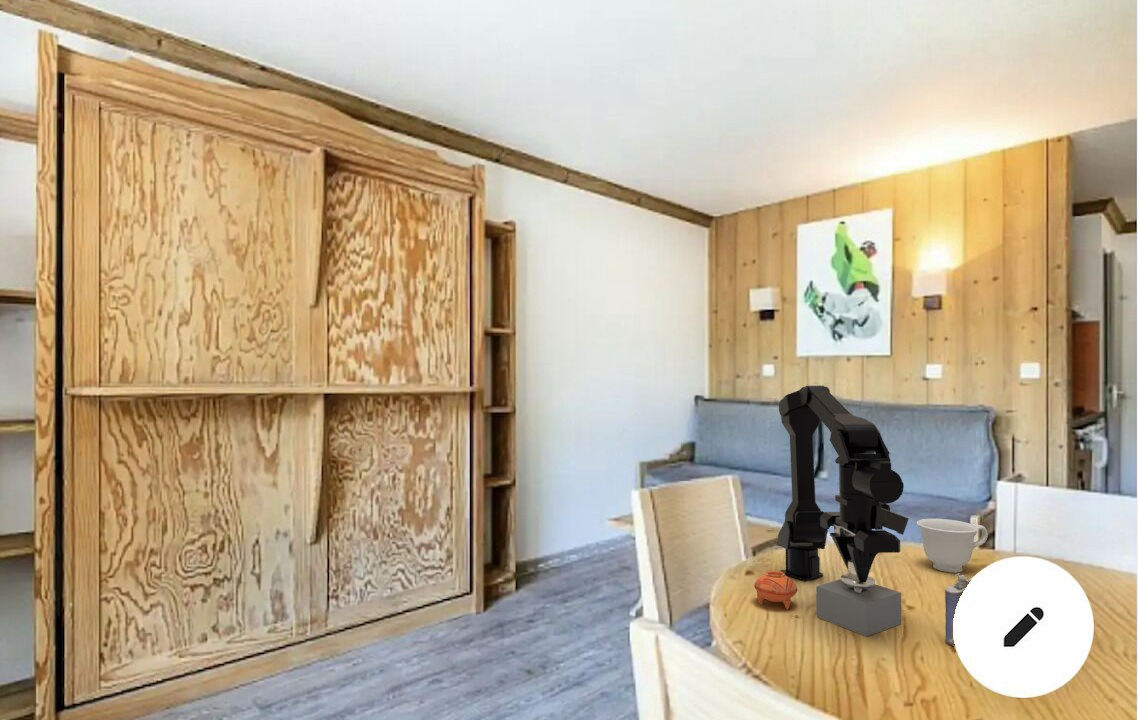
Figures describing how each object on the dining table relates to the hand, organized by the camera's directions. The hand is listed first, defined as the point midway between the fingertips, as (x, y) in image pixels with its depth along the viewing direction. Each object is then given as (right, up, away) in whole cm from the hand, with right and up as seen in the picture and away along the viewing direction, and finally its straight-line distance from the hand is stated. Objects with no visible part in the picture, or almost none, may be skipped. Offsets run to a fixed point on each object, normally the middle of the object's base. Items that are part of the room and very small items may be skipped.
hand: (857, 578), depth 112 cm
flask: (+14, -8, -8) cm, 18 cm away
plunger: (0, -8, 0) cm, 8 cm away
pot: (-12, -8, +8) cm, 17 cm away
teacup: (+35, -8, +29) cm, 46 cm away
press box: (0, -8, 0) cm, 8 cm away
